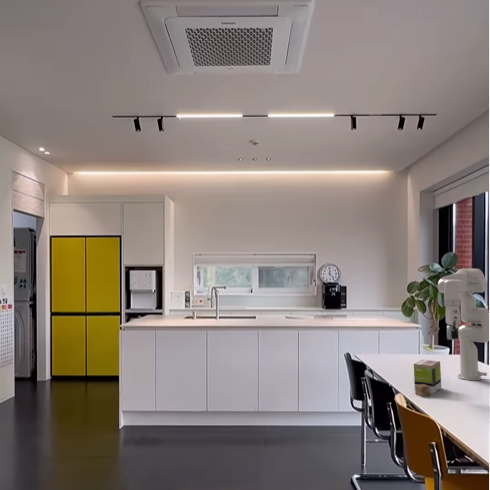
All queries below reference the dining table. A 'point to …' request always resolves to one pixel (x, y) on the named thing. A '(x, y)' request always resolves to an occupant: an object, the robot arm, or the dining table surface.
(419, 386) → the walnut block
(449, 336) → the grey upright cylinder
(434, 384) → the tea box
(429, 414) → the dining table surface
